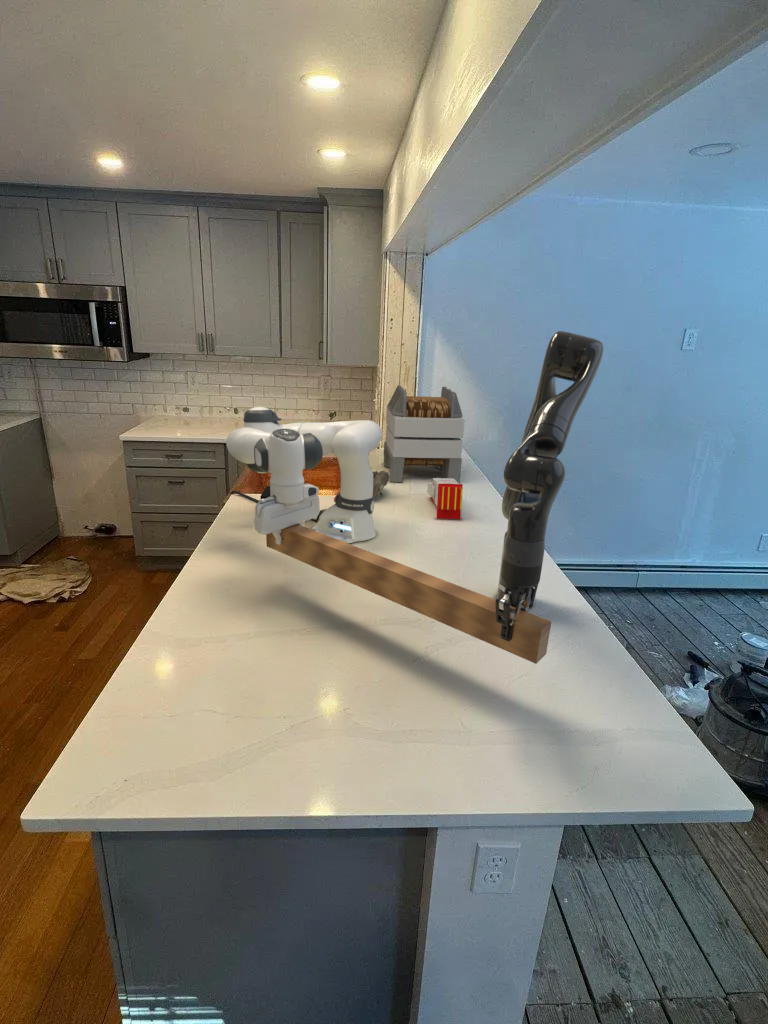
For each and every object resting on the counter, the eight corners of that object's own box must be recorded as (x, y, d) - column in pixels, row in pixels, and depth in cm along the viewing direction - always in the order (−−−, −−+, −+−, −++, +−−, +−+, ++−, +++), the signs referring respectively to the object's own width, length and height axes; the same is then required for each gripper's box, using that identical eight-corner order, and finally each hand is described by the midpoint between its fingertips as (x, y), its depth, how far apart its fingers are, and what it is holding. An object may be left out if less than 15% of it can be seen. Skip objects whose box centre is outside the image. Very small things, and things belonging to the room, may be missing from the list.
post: (266, 546, 157) (265, 521, 154) (279, 541, 160) (278, 516, 158) (536, 664, 109) (541, 630, 107) (546, 654, 113) (551, 621, 110)
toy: (455, 474, 240) (467, 485, 211) (453, 505, 243) (464, 520, 214) (426, 473, 240) (434, 484, 211) (425, 504, 243) (432, 519, 213)
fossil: (358, 476, 249) (385, 458, 244) (371, 493, 252) (398, 475, 247) (350, 497, 229) (380, 477, 224) (365, 515, 232) (394, 496, 227)
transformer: (382, 463, 289) (386, 382, 275) (445, 464, 293) (451, 384, 279) (390, 482, 257) (394, 392, 243) (460, 483, 261) (468, 394, 247)
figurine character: (276, 519, 211) (282, 502, 225) (275, 501, 208) (281, 484, 221) (258, 519, 211) (265, 501, 225) (257, 500, 208) (264, 484, 221)
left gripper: (263, 503, 139) (265, 555, 144) (323, 486, 154) (323, 533, 159) (247, 497, 143) (250, 548, 148) (307, 481, 158) (307, 527, 163)
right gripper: (523, 575, 101) (511, 656, 107) (556, 551, 111) (544, 627, 117) (486, 562, 105) (477, 641, 111) (522, 541, 116) (512, 614, 122)
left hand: (288, 540), depth 154 cm, fingers closed on post, 4 cm apart
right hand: (512, 633), depth 114 cm, fingers closed on post, 4 cm apart
